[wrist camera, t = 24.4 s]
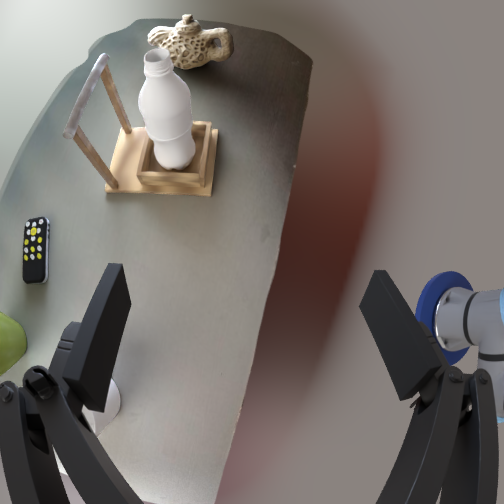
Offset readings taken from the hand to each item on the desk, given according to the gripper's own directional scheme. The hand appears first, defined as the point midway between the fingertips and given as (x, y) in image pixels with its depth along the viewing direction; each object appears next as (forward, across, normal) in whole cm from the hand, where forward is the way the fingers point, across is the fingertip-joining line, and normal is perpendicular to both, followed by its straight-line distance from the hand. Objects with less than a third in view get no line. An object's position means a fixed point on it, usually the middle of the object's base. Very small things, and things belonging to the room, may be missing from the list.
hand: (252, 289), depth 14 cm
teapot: (+61, -11, +14) cm, 63 cm away
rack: (+41, -13, -5) cm, 43 cm away
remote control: (+28, -38, -18) cm, 51 cm away
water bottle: (+40, -10, -5) cm, 42 cm away
